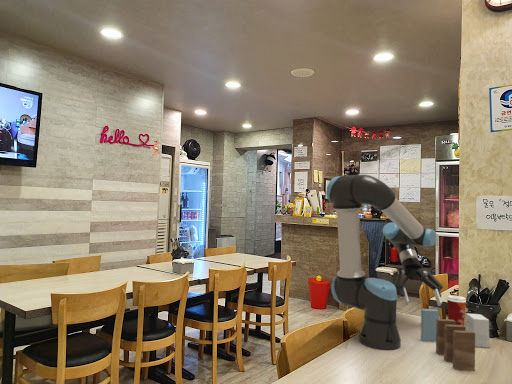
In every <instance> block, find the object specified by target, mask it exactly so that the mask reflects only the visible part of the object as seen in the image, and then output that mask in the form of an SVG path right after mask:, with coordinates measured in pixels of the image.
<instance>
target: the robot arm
mask: <svg viewBox="0 0 512 384" xmlns="http://www.w3.org/2000/svg"><path fill="white" fill-rule="evenodd" d="M325 195H326V198H327V200H328V201H329V203H331V204H332V209H333V210H334V212H335V213H336V215H337V216H336V217H337V219H336V220H337V232H338V233H337V236H338V237H337V239H338V256H339V270H338V271H337V272H336V276H335V277H334V278H333V279H332V282H331V287H330V289H331V290H330V291H331V294H332V297H333V299H334V300H335V301H336V302H337V303H340V304H342V305H344V306H347V307H352V308H354V309H358V310H361V311H363V312H364V313H363V315H364V316H363V317H364V318H363V323H362V324H361V325H362V326H361V329H360V330H359V335H358V340H359V343H361V344H363V345H365V346H366V347H367V346H368V347H370V348H372V349H378V350H397V349H399V348H401V341H402V339H401V336H400V332H399V330H398V325H397V301H398V295H397V293H398V292H399V294H400V297H402V298H403V300H404V304H405V306H406V305H408V304H409V302H410V300H409V297H408V296H409V295H408V293H407V290H406V287H405V286H406V284H407V283H408V282H409V280H411V281H420V282H421V283H424V284H425V285H426V286H427V287H429V288H430V289H431V290H432V291H433V292H432V293H433V295H434V297H435V300H436V304H437V306H438V307H440V306H441V305H442V304H443V301H442V298H441V297H442V293H441V291H442V290H443V288H444V286H443V284H441V282H439V280H437V278H436V277H435V276H434V275H433V274H432V273H431V271H430V269H426V270H423V269H422V266H421V263H420V260H419V257H418V254H417V252H416V249H415V246H420V247H424V248H425V247H433V246H434V245H435V244H436V241H437V234H436V232H435V230H434V229H432V228H425V227H424V226H423V225H422V224H421V223H420V222H419V221H418V219H416V218H415V216H414V215H413V214H412V213H411V212H409V210H408V208H406V207H405V206H404V205H403V203H401V202H400V200H399V199H398V198H397V196H396V193H395V191H393V190H392V189H391V187H390V186H389V185H387V184H386V183H385V182H384V181H382V180H381V179H379V178H377V177H375V176H371V175H369V174H353V175H349V174H348V175H344V174H343V175H338V176H335V177H333V178H332V179H331V180H330V182H328V184H327V186H326V190H325ZM363 205H368V206H372V207H373V208H374V209H375V210H377V211H381V212H382V213H383V214H384V215H385V216H386V217H387V218H388V219H389V220H390V221H391V222H387V223H386V224H385V225H384V226H383V228H382V235H383V236H384V237H385V239H386V240H388V241H389V242H390V243H391V245H393V246H394V247H395V248H396V250H397V252H398V256H399V259H400V262H401V266H402V268H400V267H399V268H398V270H397V273H396V274H397V276H396V281H395V283H394V284H393V283H392V282H391V281H388V280H386V279H383V278H376V277H367V278H366V272H364V271H363V270H362V262H361V261H362V257H361V255H362V254H361V239H360V235H361V234H360V221H359V220H360V217H359V216H360V215H359V212H360V211H361V210H362V209H363ZM403 275H405V276H406V277H405V279H404V280H403V281H402V282H401V278H402V276H403ZM400 282H401V284H400ZM397 291H398V292H397Z"/></svg>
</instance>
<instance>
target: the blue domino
mask: <svg viewBox="0 0 512 384" xmlns="http://www.w3.org/2000/svg"><path fill="white" fill-rule="evenodd" d="M420 313H421V314H420V315H421V318H420V321H421V322H420V325H421V326H420V340H421V341H422V342H427V343H428V342H429V343H430V342H432V343H436V321H437V319H440V310H438V309H436V308H435V309H433V308H432V309H431V308H421V312H420Z"/></svg>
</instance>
